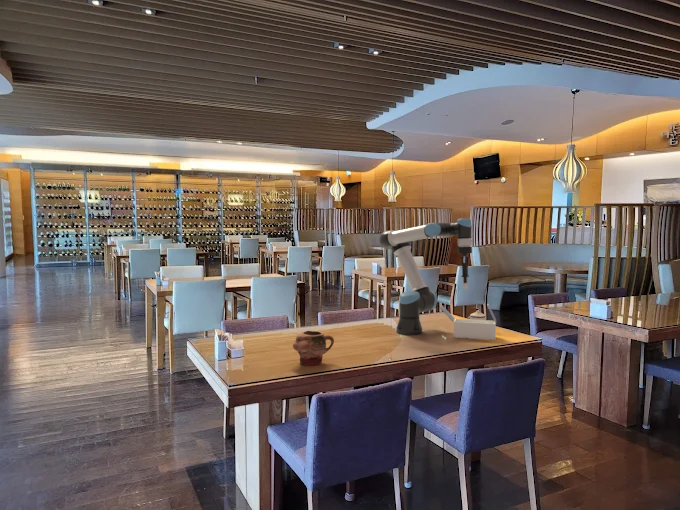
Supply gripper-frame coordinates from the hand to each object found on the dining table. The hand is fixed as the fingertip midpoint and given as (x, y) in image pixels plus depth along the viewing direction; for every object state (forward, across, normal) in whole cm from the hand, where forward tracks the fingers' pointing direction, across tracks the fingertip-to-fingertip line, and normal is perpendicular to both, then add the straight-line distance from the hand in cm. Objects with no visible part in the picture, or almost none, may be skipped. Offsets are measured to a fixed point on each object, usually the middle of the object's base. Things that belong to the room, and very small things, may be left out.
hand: (465, 288), depth 267 cm
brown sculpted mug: (+27, -72, +62) cm, 99 cm away
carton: (+27, +1, -4) cm, 28 cm away
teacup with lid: (+27, +22, -4) cm, 35 cm away
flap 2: (+14, +1, -14) cm, 19 cm away
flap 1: (+14, +1, +10) cm, 17 cm away
